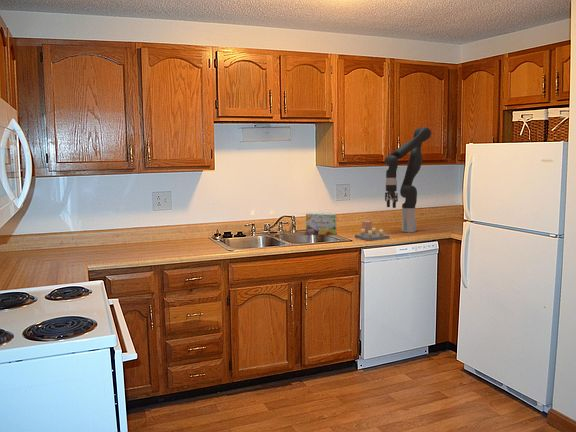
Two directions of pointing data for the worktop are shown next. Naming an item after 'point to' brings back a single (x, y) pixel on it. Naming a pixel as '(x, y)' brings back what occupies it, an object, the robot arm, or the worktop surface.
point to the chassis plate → (374, 237)
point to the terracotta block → (367, 225)
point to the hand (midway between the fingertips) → (391, 207)
